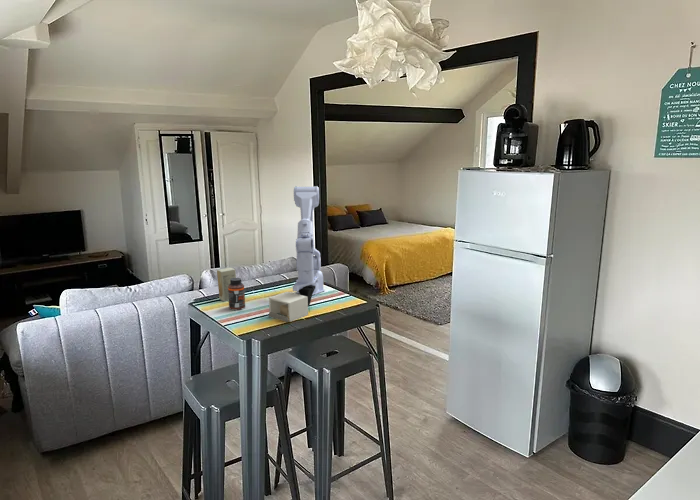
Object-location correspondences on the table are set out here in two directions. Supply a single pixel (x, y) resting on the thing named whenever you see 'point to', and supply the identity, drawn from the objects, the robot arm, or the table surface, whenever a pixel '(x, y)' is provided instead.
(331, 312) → the table surface
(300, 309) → the open shelf unit
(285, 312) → the beige toy brick
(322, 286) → the robot arm
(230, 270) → the skincare box
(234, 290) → the supplement bottle
